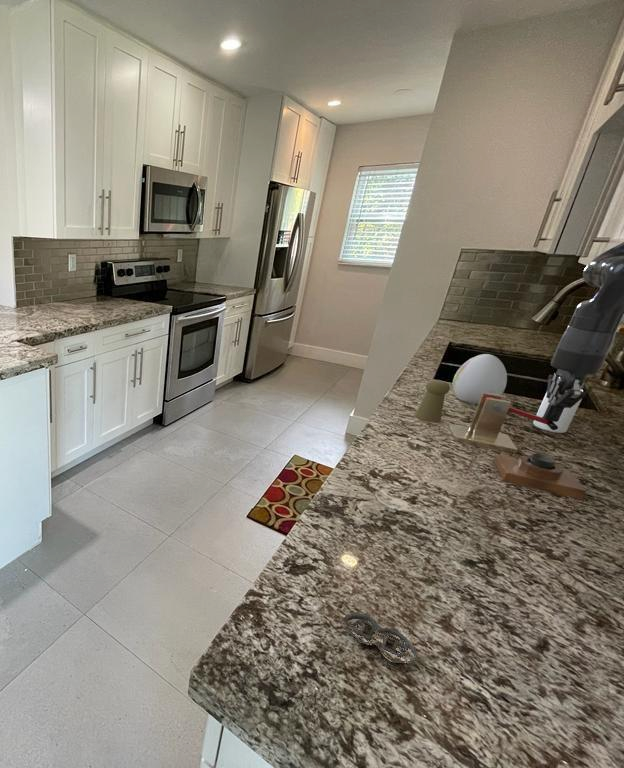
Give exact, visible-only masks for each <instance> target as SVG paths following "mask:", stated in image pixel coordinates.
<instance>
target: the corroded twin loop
mask: <svg viewBox="0 0 624 768" xmlns="http://www.w3.org/2000/svg"><path fill="white" fill-rule="evenodd" d="M352 619H361V620H357V621H356V622H355V623H353V624H352V625H354V626H356V625H357V628H358V627H359V626H358V624H359V625H360V626H362V630H358V629H357V628H356V627H354V629H353V631H354V632H355V633H356V634H357V635H360V636H363V637H364V638H365V639H366V640H367V641H368V640H369V641H370V640H371V638H372V637H371V636H372V635H373V634H375V632H374V628H373V626H375V628H376V630H377V631H378V632H379V633H385V632H386V633H387V632H388V633H391V634H394V635H396V636H398V637H399V638H400V640H399V639H398V638H396V637H394V636H393V635H390V634H385V635H384V636H382V637H383V643H382V648H383V649H384V650H386V651H388V652H391V653H392V654H395V655H397V657H400V658H401V657H403V656H404V654H402V653H400V652H399V651H397V650H396V648H397V646H400V647H401V648H404V651H403V649H401V650H402V651H403V652H406V650H408V648H409V649H410V650H411V652H412V653H413V654H414V659H411V660H410V661H408V662H409V663H407V662H406V663H407V664H412V663H416V662H417V661H418V658H419V655H418V653H417V651H416V649H415V647H414V646H413V644H412V643H411V642H410V641H409V639H408V638H407V637H406V636H405V635H404V634H402V633H401V632H399V630H396V629H395V628H389V627H380V625H379V624H378V622H377V621H376V619H374V618H373V617H372V616H369V615H368V614H366V613H360V612H351V613H349V614H347V615H346V614H345V617H344V623H345V626H346V629H347V630H348V631H349V633H350V632H351V630H350V628H349V625H348V622H347V621H348V620H352ZM363 620H365V621H367V622H368V621H369V622H371V624H372V625H373V626H372V625H371V624H369V623H367V622H365V621H363ZM366 625H368V626H370V627H371V628H372V629H371V628H370V627H369V628H370V631H369V634H366V633H364V629H365V627H366ZM368 626H367V627H368ZM350 634H351V636H352V635H353V636H354V637H355V638H356V639H357V640H359V641H360V642H362V643H363V644H369V645H370V644H374V645H375V646H377V647H378V645H377V642H375V643H369V642H363V641H361V640H360V639H358V638H357V637H356V636H355V634H353V633H352V632H351V633H350ZM376 635H377V634H376ZM353 636H352V637H353ZM378 636H379V634H378ZM380 636H381V635H380ZM388 636H389V637H391V638H393V639H395V640H397V641H398V642H397V641H395V642H394V641H393V644H392V646H393V647H392V648H393V649H394V650H393V649H391V648H390V647H388V646H386V643H387V641H388V638H387V637H388ZM354 637H353V638H354ZM355 638H354V639H355ZM373 639H374V638H373ZM375 640H376V639H375ZM403 640H404V641H403ZM399 641H401V642H402V643H403V644H401V643H399ZM378 642H379V641H378ZM404 642H405V645H404ZM380 643H381V642H380ZM377 647H376V648H377ZM378 649H379V650H380V648H379V647H378ZM405 649H406V650H405ZM380 651H381V650H380ZM396 651H397V652H398V653H400V654H398V653H396ZM381 652H382V653H383V651H381ZM383 654H384V653H383ZM384 655H385V654H384ZM385 656H386V655H385ZM386 657H387V656H386ZM387 658H388V659H390V658H389V657H387ZM390 660H391V661H393V662H398V663H402V662H403V663H404V662H405V661H394V660H392V659H390Z"/></svg>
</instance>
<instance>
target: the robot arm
mask: <svg viewBox="0 0 624 768" xmlns="http://www.w3.org/2000/svg"><path fill="white" fill-rule="evenodd" d="M582 279H583V281H584V282H585V283H586V284H587V285H589V286H591V287H593V288H596V289H597V288H598V289H599V290H598V291H597V293H596V294H595V296H594V297H593V298H592V299H588V300H584V301H582V302H580V303H579V304H578V305H577V306H576V308H575V310H574V313H573V315H572V317H571V319H570V321H569V324H568V326H567V328H566V329H565V330H564V332H563V334H562V335H561V338H560V340H559V343H558V345H557V347H556V350H555V352H554V354H553V357H552V359H551V361H550V366H551V367H553V368H555V369H557V371H556V373H554V374H549V375H548V376H547V377H548V378H547V387H546V392H547V396H546V397H547V398H549V400H548V403H550V404H549V405H548V407H547V409H546V412H545V414H544V416H543V417H544V418H545V419H546V420H547V421H553V422H557V421H558V420H559V418H560V416H561V414H562V412H563V410H564V408H571V407H572V406H574V405H575V404H576V403H577V402H578V401H579V400H581V399H582V400H583V398H584V397H585V396H586V394H587V392H586V391H584V390H583V391H580V389H583V387H584V385H585V379H586V376H588V375H597V374H599V373H600V372H601V369H602V367H603V365H604V363H605V361H606V359H607V356H608V355H609V352H610V350H611V348H612V346H613V344H614V340H615V338H616V334H617V332H618V329H619V328H620V326H621V324H622V321H623V319H624V241H623V242H621V243H619V244H617V245H615V246H613V247H612V248H609V249H607V250H605V251H604V252H602V253H600V254H599V255H597V256H596V257H594V258H593V259H592V260H591V261H590V262H589V263H588V264H587V265H586V267H585V268H584V270H583V272H582ZM582 400H581V401H582Z"/></svg>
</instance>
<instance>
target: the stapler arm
mask: <svg viewBox="0 0 624 768" xmlns="http://www.w3.org/2000/svg"><path fill="white" fill-rule="evenodd" d="M488 398H493V397H490V396H489V397H488ZM493 399H496V398H493ZM508 413H512V414H514V415H517V416H520V417H524V418H526V419H529V420H532V421H534V420H535V421H538V422H541V423H544V424H547V425H548V426H549V427H550V428H551V429H552V430H557V429H558V426H557V425H556V424H555V423H554V422H553V421H547V420H546V419H545V418H544V417H539V416H536V415H537V414H533V413H530V412H527V411H525V410H521V409H519V408H516V407H512V406H510V407H509V409H508Z"/></svg>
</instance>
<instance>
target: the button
mask: <svg viewBox="0 0 624 768" xmlns="http://www.w3.org/2000/svg"><path fill="white" fill-rule="evenodd" d="M530 456H531V458H530V460H529V463H531V464H533V465H535V466H538V467H541V468H545V469H553V467H554V465H555V464H557V460H556V459H554V458H552V457H551V456H548V455H545V454H541V453H532V454H531V455H530Z"/></svg>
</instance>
